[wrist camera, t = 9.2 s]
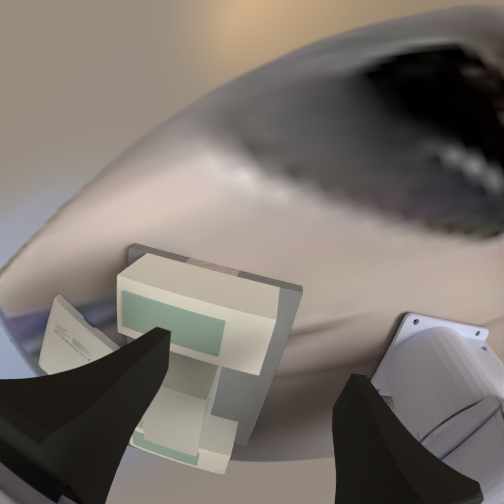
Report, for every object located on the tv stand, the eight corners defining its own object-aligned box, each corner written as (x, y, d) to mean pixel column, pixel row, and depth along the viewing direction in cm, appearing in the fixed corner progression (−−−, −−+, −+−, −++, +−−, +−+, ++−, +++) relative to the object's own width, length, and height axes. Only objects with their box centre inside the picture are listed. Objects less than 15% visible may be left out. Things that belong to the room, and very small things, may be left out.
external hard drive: (44, 356, 27) (62, 290, 23) (95, 400, 28) (127, 347, 24) (37, 364, 26) (52, 298, 22) (89, 409, 27) (119, 357, 22)
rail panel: (302, 286, 19) (304, 328, 14) (247, 439, 25) (239, 480, 20) (135, 243, 20) (94, 269, 15) (135, 405, 26) (115, 440, 21)
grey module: (227, 341, 20) (207, 400, 15) (214, 402, 23) (196, 456, 17) (173, 325, 20) (139, 377, 15) (169, 388, 23) (143, 438, 17)
